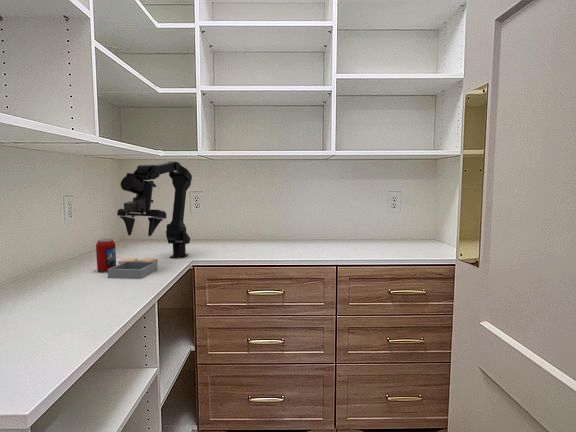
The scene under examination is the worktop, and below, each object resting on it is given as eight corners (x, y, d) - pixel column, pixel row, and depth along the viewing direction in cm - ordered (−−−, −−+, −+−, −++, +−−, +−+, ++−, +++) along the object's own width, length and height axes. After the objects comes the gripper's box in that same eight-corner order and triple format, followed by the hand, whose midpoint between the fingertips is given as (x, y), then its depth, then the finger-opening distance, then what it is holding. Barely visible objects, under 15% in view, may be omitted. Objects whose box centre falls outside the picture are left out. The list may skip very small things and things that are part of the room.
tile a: (123, 260, 161) (123, 258, 160) (137, 260, 161) (137, 258, 161) (118, 264, 155) (118, 261, 154) (133, 263, 155) (133, 261, 155)
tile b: (146, 260, 162) (146, 257, 162) (157, 261, 160) (157, 258, 160) (136, 263, 156) (136, 260, 156) (148, 264, 154) (147, 261, 154)
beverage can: (114, 272, 141) (112, 241, 140) (94, 272, 140) (93, 241, 139) (118, 267, 148) (117, 238, 147) (100, 268, 147) (98, 238, 145)
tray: (126, 269, 146) (126, 261, 145) (157, 270, 144) (156, 262, 144) (107, 277, 133) (107, 269, 133) (141, 278, 132) (140, 270, 132)
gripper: (109, 191, 140) (103, 232, 138) (151, 192, 135) (146, 234, 133) (129, 197, 150) (124, 235, 148) (169, 198, 145) (164, 237, 143)
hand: (139, 235), depth 143 cm, fingers open, 9 cm apart
